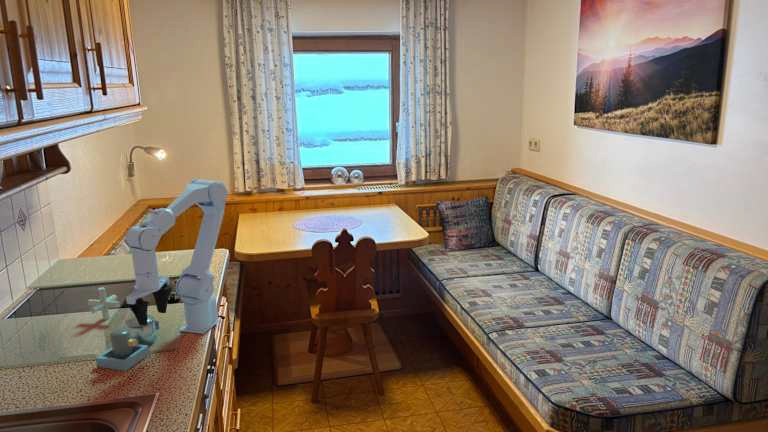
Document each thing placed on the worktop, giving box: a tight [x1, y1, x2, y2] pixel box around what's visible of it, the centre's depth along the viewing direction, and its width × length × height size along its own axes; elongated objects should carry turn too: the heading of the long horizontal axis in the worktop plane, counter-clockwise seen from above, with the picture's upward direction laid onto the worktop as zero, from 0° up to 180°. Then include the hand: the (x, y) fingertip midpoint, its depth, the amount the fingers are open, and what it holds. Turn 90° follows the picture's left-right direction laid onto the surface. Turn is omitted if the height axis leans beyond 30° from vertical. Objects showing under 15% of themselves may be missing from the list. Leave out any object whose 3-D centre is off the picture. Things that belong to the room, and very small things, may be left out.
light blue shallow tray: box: [95, 344, 151, 372], centre depth 148 cm, size 9×9×2 cm
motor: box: [126, 314, 160, 347], centre depth 157 cm, size 11×7×7 cm
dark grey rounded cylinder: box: [109, 328, 137, 360], centre depth 147 cm, size 5×6×8 cm
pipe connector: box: [87, 286, 121, 321], centre depth 172 cm, size 10×10×10 cm
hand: (152, 318), depth 151 cm, fingers open, 7 cm apart
